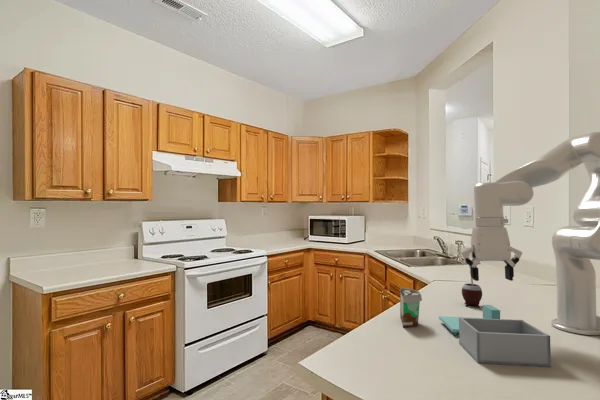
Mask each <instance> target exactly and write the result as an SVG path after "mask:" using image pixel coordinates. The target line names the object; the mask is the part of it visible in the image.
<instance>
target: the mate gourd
mask: <svg viewBox="0 0 600 400" xmlns="http://www.w3.org/2000/svg"><path fill="white" fill-rule="evenodd" d="M468 268H469V274H470V275H471V269H470V266H469V265H468ZM461 296H462V298H463V300H464V305H465V307H467V308H469V307H474V308H477V309H480V302H481V300H482V299H483V298H482V297H483V290H482V287H481V286H480V285H479V284H476V283H474V281H473V279H472V277H471V276H470V283H464V284H463V285H462V287H461Z"/></svg>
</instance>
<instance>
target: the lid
mask: <svg viewBox="0 0 600 400" xmlns="http://www.w3.org/2000/svg"><path fill="white" fill-rule="evenodd" d="M459 317H461V318H471V317H467V316H445V315H444V316H441V315H438V320H440V322H442V324H444V325H445V326H446V327H447V329H449V330H450V331H451V333H453V335H457V334H458V333H459ZM482 318H485V319H501V310H500V309H499V308H497V307H494V305H491V304H482Z"/></svg>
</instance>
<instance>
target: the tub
mask: <svg viewBox="0 0 600 400" xmlns="http://www.w3.org/2000/svg"><path fill="white" fill-rule="evenodd" d="M458 317H459V332H458V335H459V336H458V339H459V342H458V344H459V345H460V346H461V347H462V348H463V349H464V351H465V352H467V354H469V356H470V357H472V359H474V361H475V362H476V363H477V364H492V365H505V366H509V365H510V366H523V367H524V366H526V367H527V366H528V367H546V368H551V367H552V366H551V365H552V363H551V362H552V360H551V359H552V358H551V357H552V356H551V355H552V354H551V336H550V335H549V334H548V333H545V332H544V331H542V330H540V329H538V328H536V327H535V326H534V325H532V324H530V323H528V322H526V321H524V320H522V319H510V318H509V319H506V318H505V319H504V318H503V319H502V318H500V319H485V318H483V317H470V318H461V317H462V316H458Z"/></svg>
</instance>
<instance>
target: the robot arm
mask: <svg viewBox="0 0 600 400" xmlns="http://www.w3.org/2000/svg"><path fill="white" fill-rule="evenodd" d="M582 164H583V165H584V168H585V169H586V172H587V174H588V176H589V184H588V187H587V189H586V191H585V193H584V194H583V196H582V197H581V199H580V201H579V202H578V203H577V205H576V206H575V209H574V211H573V214H572V215H573V216H572V217H573V221H574V222H575V224H577V225H568V226H567V225H566V226H562V227H559V228H558V229H556V230H555V231H554V232H553V235H552V237H551V245H552V249H553V253H554V256H555V258H554V259H555V266H556V267H555V268H556V269H555V270H556V276H555V277H556V316H557V318H555V319H554V318H553V319H552V320H550V321H551V323H550V324H551V325H552V326H553V327H554V328H555V329H558V330H561V331H564V332H569V333H572V334H577V335H579V334H580V335H587V336H600V316H599V315H597V286H596V285H597V284H596V283H597V282H596V281H597V280H596V270H595V267H594V264H593V263H592V260H597V261H600V131H595V132H589V133H585V134H581V135H577V136H573V137H570V138H567V139H566V140H564V141H562V142H561V143H559V144H558V145H556V146H554V147H553V148H551V149H550V150H548V151H547V152H546V153H544V154H542V155H540V156H539V157H538V158H536V159H534V160H532V161H530V162H528V163H526V164H524V165H522V166H521V167H517V168H516V169H514V170H512V171H510V172H509V173H506V174H505V175H503V176H501V177H499V179H496V181H492V182H479V183H476V184H475V185H474V188H473V195H474V196H473V197H474V198H473V201H474V215H475V216H474V217H475V227H472V231H471V238H470V247H468V248H467V249H465V250H463V251H461V252H460V255H461V257H462V259H463V261H464V262H465V263H466V264H467V265H468V267H469V266H470V268H469V270H470V269H471V274H470V278H471V277H472V279H473V280H474V281H476V282H479V280H480V278H479V277H480V276H479V268H478V267H477V266H478V265H479V264H480V262H503V263H504V264H505V265H504V278H505V279H506V280H508V281H511V282H513V281H514V277H515V276H514V275H515V273H514V271H515V270H514V268H515V267H516V264H517V263H519V261H520V258H521V256H522V254H523V252H522V251H521V250H519V249H518V248H515V247H512V246H511V242H510V236H509V232H508V229H507V227H505V226H506V224H508V223H509V219H508V218H505V217H504V207H515V206H517V207H518V206H524V205H526V204H528V203H529V202H530V201H531V200H532V199H533V198H534V197H533V196H534V189H533V188H537V187H540V186H544V185H548V184H551V183H553V182H556V181H558V180H560V179H561V178H563V177H564V176H565V175H567V174H568V173H569V172H571V171H572V170H574V169H575V168H578V167H579V166H580V165H582ZM512 253H513V257H512ZM469 254H470V256H471V259H470V258H469Z"/></svg>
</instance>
